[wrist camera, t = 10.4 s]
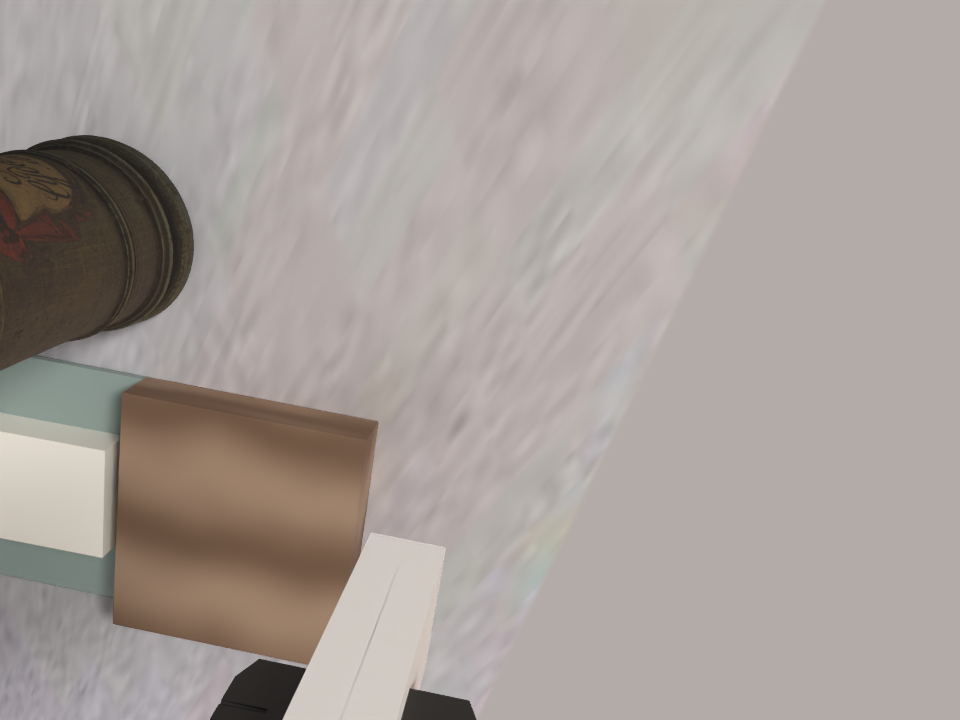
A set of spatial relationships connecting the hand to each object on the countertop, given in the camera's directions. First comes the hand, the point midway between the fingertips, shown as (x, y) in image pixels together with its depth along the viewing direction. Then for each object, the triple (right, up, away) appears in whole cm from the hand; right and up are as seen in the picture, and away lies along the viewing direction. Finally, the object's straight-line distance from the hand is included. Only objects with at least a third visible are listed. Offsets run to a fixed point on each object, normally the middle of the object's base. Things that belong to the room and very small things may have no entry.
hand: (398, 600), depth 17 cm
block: (-21, -1, +28) cm, 35 cm away
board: (-10, -3, +28) cm, 30 cm away
